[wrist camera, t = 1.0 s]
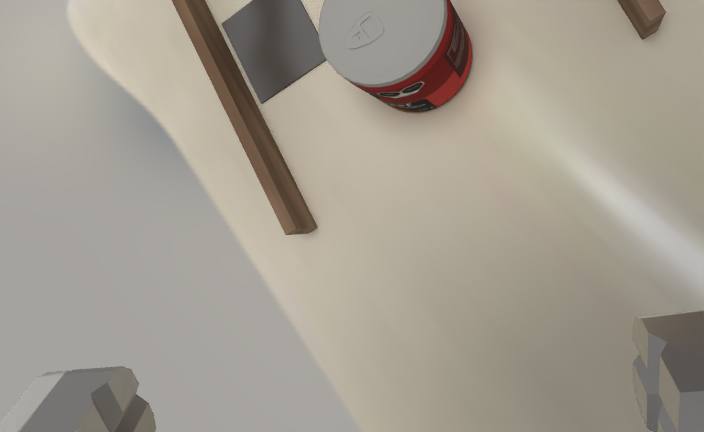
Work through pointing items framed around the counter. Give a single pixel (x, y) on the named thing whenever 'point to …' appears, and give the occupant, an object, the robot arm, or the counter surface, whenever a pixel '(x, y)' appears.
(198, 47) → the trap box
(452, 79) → the canned food
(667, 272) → the counter surface
